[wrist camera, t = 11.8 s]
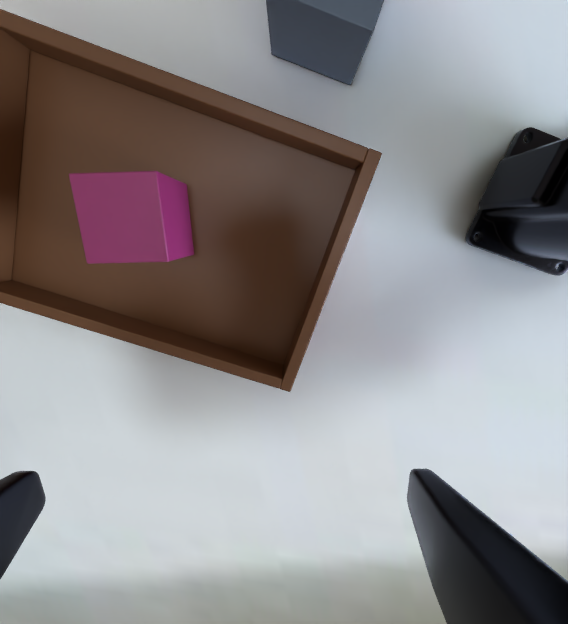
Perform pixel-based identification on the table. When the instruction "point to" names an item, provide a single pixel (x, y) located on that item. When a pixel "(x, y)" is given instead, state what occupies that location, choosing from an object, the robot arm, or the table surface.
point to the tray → (201, 195)
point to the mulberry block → (132, 216)
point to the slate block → (323, 33)
